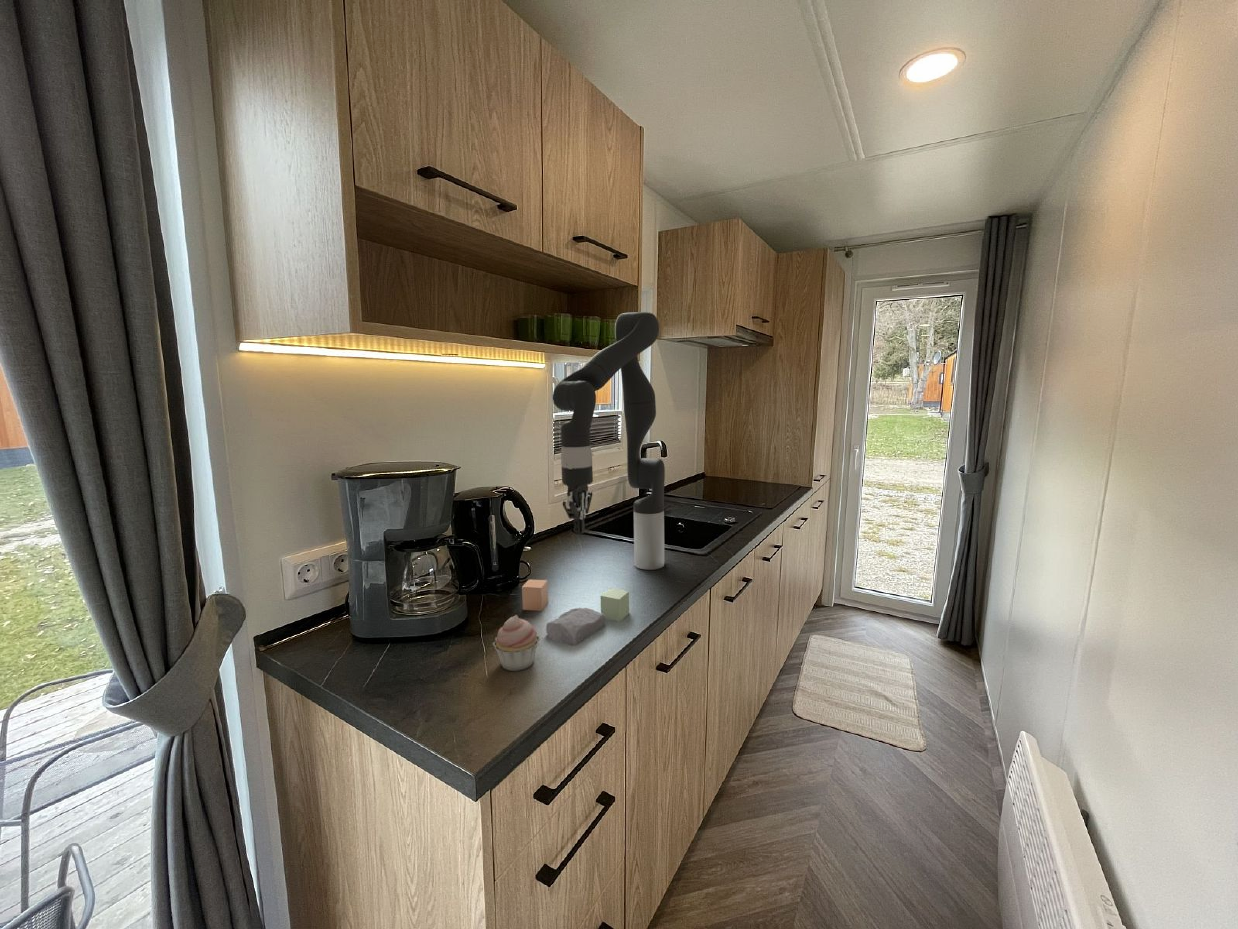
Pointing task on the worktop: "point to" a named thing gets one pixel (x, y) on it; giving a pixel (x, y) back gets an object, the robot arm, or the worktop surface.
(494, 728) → the worktop surface
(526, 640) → the cupcake
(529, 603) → the terracotta block
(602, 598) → the sage block
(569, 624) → the stone block
